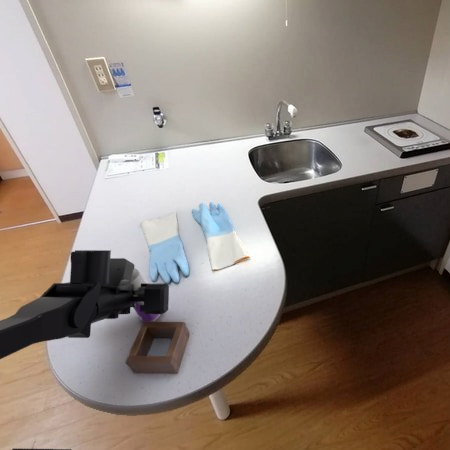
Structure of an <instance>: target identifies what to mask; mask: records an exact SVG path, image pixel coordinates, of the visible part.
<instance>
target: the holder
mask: <svg viewBox="0 0 450 450" xmlns="http://www.w3.org/2000/svg"><path fill="white" fill-rule="evenodd" d="M189 338H190V331H189V328H188V326H187V324H186V322H185V321H153V322H142V324H141V326H140V328H139V330H138V332H137V335H136V337H135V339H134V341H133V344H132V345H131V349H130V350H129V353H128V355H127V358H126V360H125V362H124V363H125V364H126V365H127V367H128V368H129V369H130V370H131V371H132V373H133V374H178V372H179V369H180V365H181V364H182V360H183V356H184V354H185V350H186V346H187V343H188V341H189V340H188V339H189ZM155 339H157V340H161V339H162V340H163V339H164V340H165V339H166V340H168V339H170V340H171V342H170V345H169V347H168V350H167V354H166V355H149V353H150V350H151V348H152V345H153V343H154V340H155Z"/></svg>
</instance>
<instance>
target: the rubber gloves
mask: <svg viewBox="0 0 450 450" xmlns="http://www.w3.org/2000/svg"><path fill="white" fill-rule="evenodd" d="M198 208H199V210H198V209H196V208H192V209H191V214H192V217H193V218H194V220H195V221H196V222H197V223H198V224H199V225H201V228H202V232H203V233H204V236H205V241H206V246H207V252H208V257H209V263H210V268H211V271H212V272H215V271H218V270H222V269H225V268H227V267H230V266H233V265H234V264H237V263H240V262H243V261H245V260H248V259H250V258H251V256H250V254H249V253H248V250H247V249H246V247H245V245H244V243H243V242H242V240H241V239H240V237H239V236H238V234H237V232H236V230H235V227H234V225H233V223H232V221H231V219H230V216H229V215H228V212H227V210H226V208H225V207H224V206H223V205H222V204H221V203H217V204H215V203H214V202H212V201H211V202H209V207H208V206H207V205H206V203H204V202H200V203H199V204H198ZM140 226H141V230H142V232H143V235H144V238H145V241H146V244H147V246H148V251H149V253H150V256H149V265H148V274H149V278H150V279H151V281H152V282H156V281H157V280H158V277H159V275H160V277H161V279H162V281H163V283H167V284H170V283H171V281H173V282H174V283H175V284H177V283H179V282H180V274H179V269H180V270H181V272H182V274H183V276H184V277H188V276H189V275H190V269H189V267H190V266H189V262H188V259H187V257H186V254H185V251H184V244H183V241H182V239H181V237H180V234H179V223H178V216H177V212H176V211H173V212H171V213H170V214H168V215H166V216H163V217H159V218H156V219H151V220H144V221H142V222H140Z"/></svg>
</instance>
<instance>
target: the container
mask: <svg viewBox="0 0 450 450" xmlns="http://www.w3.org/2000/svg"><path fill="white" fill-rule="evenodd" d="M141 283H146V281H145V279H144V278H143V276H142V274H141V272H140V271H139V269H137V268H135V267H134V270H133V273H132V278H131V281H130V284H134V290H137V289H138V288H139V287H141ZM134 296H138V295H137V294H136V295H134ZM136 303H137V302H136ZM132 308H133V310H134V311H135V313H136V315H137V316H138V318H139V320H140V321H141V322H142V323H143V322H156V320H158V318H159V317H160V315H161V314H145V312H140V303H137V306H136V307H132Z"/></svg>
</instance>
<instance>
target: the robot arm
mask: <svg viewBox="0 0 450 450" xmlns="http://www.w3.org/2000/svg"><path fill="white" fill-rule="evenodd" d="M111 255H112V250H106V249H105V250H102V249H100V250H98V249H97V250H96V249H95V250H94V249H93V250H91V249H89V250H88V249H87V250H82V249H81V250H80V249H79V250H78V249H77V250H76V249H75V250H74V251H71V252H70V274H69V275H70V276H69V281H68V282H53V284H51V285H50V287H49V288H48V289H46V291H44V292H43V293H42V295H41V296H39V297H37V298H36V299H33V300H32V301H30V302H28V303H26V304H24V305H22V306H20V307H19V308H18V309H17V310H16V312H15V313H14V314H13V315H10V316H9V317H6V318H3V319H1V320H0V360H2V359H5V358H6V357H9V356H11V355H13V354H15V353H17V352H20V351H21V350H24V349H27V348H28V347H30V346H32V345H35V344H38V343H39V344H40V343H42V342H43V343H44V342H49V341H55V340H61V339H65V338H69V339H89V338H90V337H91V329H92V324H95V323H97V322H100V321H103V320H116V319H119V315H129V314H131V308H133V307H136V306H137V303H140V312H145V314H160V315H163V314H166V313H167V312H168V311H169V299H170V297H169V296H170V285H169V283H165V282H153V283H151V282H149V283H148V282H147V283H146V282H145V283H141V287H139V288H138V289H137V290H134V284H130V281H131V278H132V273H133V270H134V268H135V264H134V263H133V262H132V261H130V260H128V259H126V258H124V257H122V258H120V257H118V258H117V257H115V258H112V257H111ZM136 294H137V295H138V296H134V295H136ZM136 302H137V303H136ZM11 450H72V449H71V448H12V449H11Z"/></svg>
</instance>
